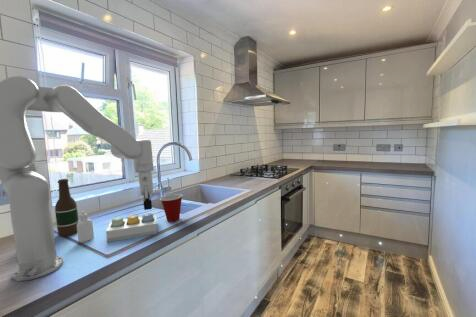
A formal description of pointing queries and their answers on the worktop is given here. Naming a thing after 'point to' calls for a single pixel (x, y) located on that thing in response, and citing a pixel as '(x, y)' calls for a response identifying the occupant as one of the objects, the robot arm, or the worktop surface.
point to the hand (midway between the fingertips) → (148, 208)
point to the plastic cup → (172, 206)
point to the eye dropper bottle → (85, 228)
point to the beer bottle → (66, 211)
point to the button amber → (133, 220)
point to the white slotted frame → (131, 230)
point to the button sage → (117, 222)
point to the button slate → (147, 217)
